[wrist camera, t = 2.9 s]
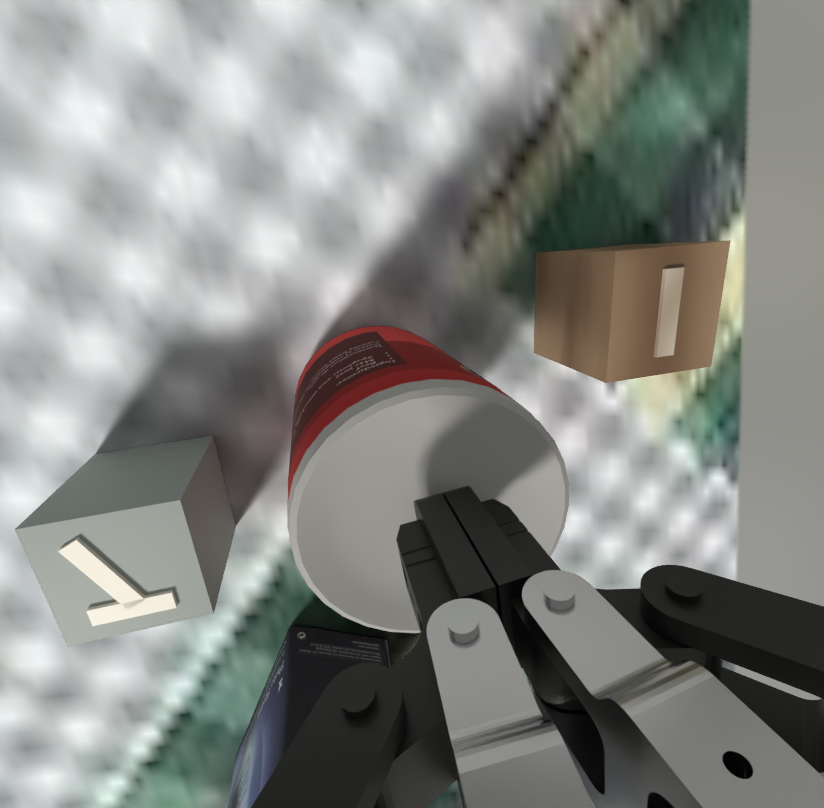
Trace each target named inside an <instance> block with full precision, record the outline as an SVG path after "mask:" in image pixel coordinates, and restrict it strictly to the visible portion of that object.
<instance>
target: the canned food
mask: <svg viewBox="0 0 824 808" xmlns="http://www.w3.org/2000/svg"><path fill="white" fill-rule="evenodd" d="M465 486H470V487H471V488H472V490H473V491H474V493H475V494H476V495H477V497H478V498H479V499H480V501H481V502H482V501H486V500H490V499H495V500H497V501H499V502H501V503H503V504H505V505H507V506H508V507H510V509H511V510H512V511H513V512H514V513H515V515H516V516H517V517H518V518H519V521H520V522H522V523H523V524H524V526H525V527H526V528H527V530H528V532H530V533H531V534H532V535H533V537H534V538H535V539H536V540H537V542H538V543H539V544H540V545H541V546H542V548H543V549H544V550H545V551H546V553H547V554H548V555H549V556H551V555H552V553H553V551H554V550H555V548H556V546H557V543H558V541H559V538H560V536H561V534H562V531H563V529H564V525H565V521H566V516H567V511H568V506H569V482H568V477H567V473H566V468H565V464H564V460H563V458H562V456H561V454H560V452H559V450H558V447H557V445H556V443H555V441H554V440H553V438H552V437H551V436H550V435H549V433H548V432H547V431H546V430H545V428H544V427H543V426H542V425H541V423H540V422H539V421H538V420H536V419H535V418H534V416H533V415H532V414H531V413H530V412H529V411H527V410H526V409H525V408H524V407H522V406H521V405H520V404H519V403H517V402H516V401H515V400H513V399H512V398H511V397H509V396H508V395H506V394H505V393H504V392H502V391H501V390H500V389H498V388H497V387H496V386H494V385H493V384H491V383H490V382H488V381H487V380H485V379H484V378H482V377H481V376H479V375H478V374H476V373H475V372H473V371H472V370H470V369H469V368H467V367H466V366H464V365H463V364H461V363H460V362H458V361H457V360H455V359H454V358H452V357H450V356H449V355H447V354H446V353H444V352H443V351H441V350H440V349H438V348H437V347H435V346H434V345H432V344H431V343H429V342H428V341H426V340H425V339H423V338H421V337H419V336H417V335H415V334H413V333H411V332H409V331H405V330H402V329H398V328H394V327H384V326H372V327H364V328H358V329H355V330H352V331H349V332H346V333H343V334H341V335H339V336H337V337H336V338H334V339H332V340H330V341H328V342H327V343H326V344H325V345H324V346H323V347H321V348H320V349H319V350H318V351H317V352H316V353H315V354H314V355H313V357H312V358H311V359H310V360H309V362H308V363H307V364H306V366H305V368H304V370H303V372H302V374H301V376H300V379H299V381H298V386H297V390H296V395H295V405H294V417H293V429H292V441H291V453H290V465H289V477H288V531H289V535H290V543H291V547H292V551H293V555H294V559H295V563H296V565H297V567H298V569H299V571H300V572H301V574H302V576H303V578H304V580H305V582H306V583H307V585H308V586H309V587H310V588H311V590H312V591H313V592H314V593H315V594H316V595H317V596H318V597H319V598H320V599H321V601H322V602H323V603H325V604H326V605H327V606H329V607H330V608H332V609H333V610H335V611H336V612H337V613H339V614H340V615H342V616H343V617H345V618H348V619H350V620H352V621H355V622H357V623H359V624H361V625H364V626H366V627H371V628H375V629H380V630H384V631H388V632H403V633H421V632H420V629H419V626H418V623H417V619H416V616H415V613H414V610H413V607H412V603H411V600H410V597H409V594H408V590H407V587H406V583H405V578H404V573H403V569H402V564H401V559H400V555H399V550H398V545H397V541H396V539H397V535H398V531H399V527H400V525H402V524H405V523H409V522H412V521H416V520H417V518H416V513H415V508H414V500H418V499H421V498H425V497H429V496H432V495H436V494H440V493H441V494H442V493H443V492H446V491H450V490H454V489H457V488H461V487H465Z"/></svg>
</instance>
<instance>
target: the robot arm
mask: <svg viewBox="0 0 824 808" xmlns="http://www.w3.org/2000/svg"><path fill="white" fill-rule="evenodd" d="M414 508H415V513H416V518H417V520H416V521H412V522H409V523H405V524H402V525H400V527H399V531H398V535H397V539H396V541H397V545H398V550H399V555H400V559H401V564H402V569H403V573H404V578H405V583H406V587H407V590H408V594H409V597H410V600H411V603H412V607H413V610H414V613H415V616H416V619H417V623H418V626H419V629H420V632H421V635H420V638H419V640H418V642H417V644H416V645H415V647H414V648H413V650H412V651H411V652H410V653H409V654H408V655H407V656H405V657H404V658H403V659H402V660H400V661H399V662H397V663H396V664H395V665H393V666H392V667H390V668H387V667H386V666H384V665H381V664H378V663H371V662H366V663H360V664H356V665H353V666H351V667H349V668H347V669H345V670H343V671H342V672H340V673H339V674H338V675H337V676H335V677H334V678H333V679H332V681H331V682H330V683H329V684H328V686H327V687H326V688H325V690H324V691H323V693H322V695H321V696H320V698H319V699H318V701H317V703H316V704H315V706H314V707H313V709H312V711H311V712H310V714H309V715H308V717H307V719H306V720H305V722H304V723H303V725H302V727H301V728H300V730H299V731H298V733H297V735H296V736H295V738H294V739H293V741H292V743H291V744H290V746H289V747H288V749H287V751H286V752H285V754H284V756H283V757H282V759H281V760H280V762H279V764H278V765H277V767H276V768H275V770H274V772H273V773H272V775H271V776H270V778H269V780H268V781H267V783H266V784H265V786H264V788H263V789H262V791H261V792H260V794H259V796H258V797H257V799H256V800H255V802H254V804H253V805H252V807H251V808H427V807H428V806H429V805H430V804H431V803H432V802H433V801H434V800H435V799H436V798H437V797H438V796H440V795H441V794H442V793H443V792H444V791H445V790H446V789H447V788H448V787H449V786H450V785H451V784H453V783H454V782H455V781H456V780H457V782H458V787H459V791H460V796H461V800H462V805H463V808H594V806H595V808H824V607H823V606H819V605H816V604H813V603H809V602H806V601H802V600H799V599H795V598H792V597H788V596H785V595H781V594H778V593H774V592H771V591H768V590H764V589H761V588H757V587H754V586H750V585H747V584H744V583H740V582H737V581H733V580H730V579H726V578H723V577H719V576H716V575H713V574H709V573H706V572H702V571H699V570H695V569H692V568H688V567H684V566H678V565H662V566H657V567H654V568H652V569H650V570H648V571H647V572H646V573H645V574H644V575H643V577H642V579H641V587H640V589H613V590H605V589H595V588H594V587H593V586H592V585H591V584H590V583H588V582H587V581H586V580H585V579H583V578H582V577H580V576H578V575H576V574H573V573H570V572H567V571H562V570H560V568H559V567H558V566H557V565H556V564H555V562H554V561H553V560H552V559H551V557H550V556H549V555H548V554H547V553H546V551H545V550H544V549H543V548H542V546H541V545H540V544H539V543H538V542H537V540H536V539H535V538H534V537H533V535H532V534H531V533H530V532H528V530H527V528H526V527H525V526H524V524H523V523H522V522H520V521H519V518H518V517H517V516H516V515H515V513H514V512H513V511H512V510H511V509H510V507H508V506H507V505H505V504H503V503H501V502H499V501H497V500H495V499H490V500H486V501H482V502H481V501H480V499H479V498H478V497H477V495H476V494H475V493H474V491H473V490H472V488H471V487H470V486H465V487H461V488H457V489H454V490H450V491H446V492H443V493H442V494H441V493H440V494H436V495H432V496H429V497H425V498H421V499H418V500H414ZM723 660H725V661H728V662H731V663H733V664H736V665H738V666H741V667H744V668H746V669H749V670H751V671H754V672H757V673H759V674H762V675H764V676H767V677H770V678H772V679H775V680H777V681H780V682H783V683H785V684H788V685H790V686H793V687H795V688H798V689H801V690H803V691H806V692H808V693H811V694H813V695H816V696H818V697H820V698H822V699H820V700H806V699H802V698H799V697H796V696H794V695H791V694H789V693H786V692H784V691H781V690H778V689H776V688H774V687H771V686H768V685H766V684H764V683H761V682H758V681H756V680H753V679H751V678H748V677H746V676H743V675H741V674H738V673H736V672H733V671H731V670H728V669H726V668H723V667H722V663H723ZM521 668H523V669H524V671H525V673H526V675H527V677H528V679H529V681H530V686H531V689H530V687H529V685H528V683H527V680H526V678H525V676H524V673H523V671H522V669H521ZM590 799H591V800H590ZM591 801H592V802H593V804H594V806H593V804H592V802H591Z"/></svg>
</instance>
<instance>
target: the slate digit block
mask: <svg viewBox="0 0 824 808" xmlns="http://www.w3.org/2000/svg"><path fill="white" fill-rule="evenodd" d="M235 527H236V524H235V520H234V516H233V512H232V508H231V504H230V500H229V496H228V492H227V488H226V484H225V480H224V476H223V472H222V468H221V464H220V460H219V456H218V452H217V448H216V444H215V441H214V437H213V436H207V437H201V438H194V439H188V440H181V441H175V442H168V443H162V444H155V445H149V446H142V447H136V448H129V449H123V450H116V451H110V452H103V453H97V454H95V455H94V456H93V457H92V458H91V459H89V460H88V461H87V462H86V463H85V464H84V465H83V466H82V467H81V468H80V469H79V470H78V471H77V472H76V473H75V474H73V475H72V476H71V477H70V478H69V479H68V480H67V481H66V482H65V483H64V484H63V485H62V486H61V487H60V488H59V489H57V490H56V491H55V492H54V493H53V494H52V495H51V496H50V497H49V498H48V499H47V500H46V501H45V502H44V503H43V504H41V505H40V506H39V507H38V508H37V509H36V510H35V511H34V512H33V513H32V514H31V515H30V516H29V517H28V518H27V519H26V520H24V521H23V522H22V523H21V524H20V525H19V526H18V527H17V528H16V529H15V531H16V533H17V535H18V538H19V540H20V542H21V544H22V547H23V549H24V551H25V553H26V555H27V558H28V560H29V562H30V564H31V567H32V569H33V571H34V573H35V575H36V578H37V580H38V582H39V584H40V586H41V589H42V591H43V593H44V595H45V598H46V600H47V602H48V604H49V606H50V609H51V611H52V613H53V615H54V618H55V620H56V622H57V624H58V626H59V629H60V631H61V633H62V635H63V638H64V640H65V642H66V644H67V646H72V645H76V644H80V643H85V642H89V641H94V640H98V639H102V638H107V637H111V636H116V635H120V634H125V633H129V632H133V631H138V630H142V629H147V628H151V627H155V626H160V625H164V624H169V623H173V622H178V621H182V620H186V619H191V618H195V617H200V616H204V615H208V614H213V613H214V610H215V606H216V602H217V598H218V594H219V590H220V586H221V582H222V578H223V574H224V571H225V567H226V563H227V559H228V555H229V551H230V547H231V543H232V539H233V535H234V531H235Z"/></svg>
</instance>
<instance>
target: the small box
mask: <svg viewBox="0 0 824 808" xmlns="http://www.w3.org/2000/svg"><path fill="white" fill-rule="evenodd" d="M366 662H371V663H378V664H381V665H384V666H386V667H387V668H390V667H391V664H390V658H389V652H388V645H387V641H386V640H385V639H380V638H374V637H373V638H372V637H366V636H358V635H351V634H345V633H339V632H334V631H327V630H323V629H317V628H309V627H300V626H291V627H290V628H289V630H288V632H287V635H286V637H285V640H284V642H283V644H282V647H281V649H280V652H279V654H278V656H277V659H276V661H275V664H274V666H273V668H272V671H271V673H270V675H269V678H268V681H267V683H266V685H265V688H264V690H263V692H262V695H261V697H260V700H259V702H258V704H257V707H256V709H255V712H254V714H253V716H252V719H251V721H250V724H249V726H248V728H247V731H246V733H245V735H244V738H243V740H242V743H241V745H240V748H239V750H238V753H237V755H236V758H235V765H234V771H233V778H232V785H231V791H230V798H229V805H228V808H251V807H252V805H253V804H254V802H255V800H256V799H257V797H258V796H259V794H260V792H261V791H262V789H263V788H264V786H265V784H266V783H267V781H268V780H269V778H270V776H271V775H272V773H273V772H274V770H275V768H276V767H277V765H278V764H279V762H280V760H281V759H282V757H283V756H284V754H285V752H286V751H287V749H288V747H289V746H290V744H291V743H292V741H293V739H294V738H295V736H296V735H297V733H298V731H299V730H300V728H301V727H302V725H303V723H304V722H305V720H306V719H307V717H308V715H309V714H310V712H311V711H312V709H313V707H314V706H315V704H316V703H317V701H318V699H319V698H320V696H321V695H322V693H323V691H324V690H325V688H326V687H327V686H328V684H329V683H330V682H331V681H332V679H333V678H334V677H335V676H337V675H338V674H339V673H340V672H342V671H343V670H345V669H347V668H349V667H351V666H353V665H356V664H360V663H366Z"/></svg>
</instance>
